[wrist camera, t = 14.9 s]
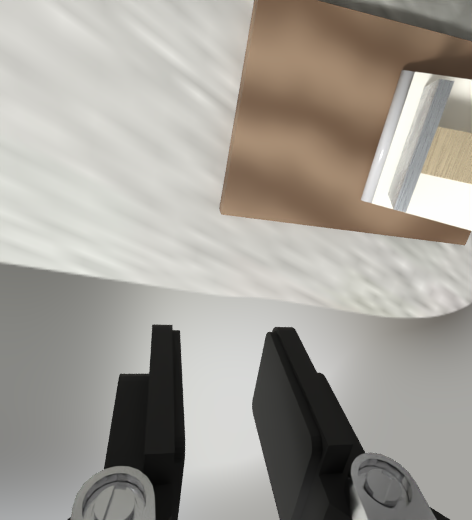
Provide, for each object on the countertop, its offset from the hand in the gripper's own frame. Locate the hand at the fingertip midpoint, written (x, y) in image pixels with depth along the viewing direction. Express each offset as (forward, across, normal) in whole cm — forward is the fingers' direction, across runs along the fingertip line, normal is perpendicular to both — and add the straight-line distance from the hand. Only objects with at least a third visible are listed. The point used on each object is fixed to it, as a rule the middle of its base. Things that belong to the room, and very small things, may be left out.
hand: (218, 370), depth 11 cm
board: (+23, -16, -5) cm, 28 cm away
